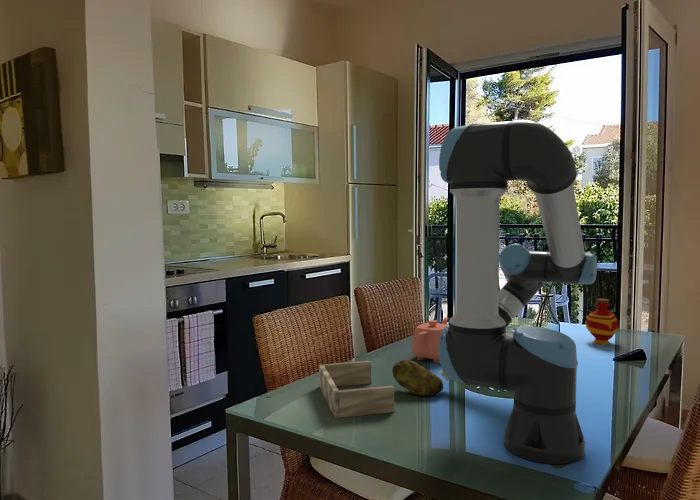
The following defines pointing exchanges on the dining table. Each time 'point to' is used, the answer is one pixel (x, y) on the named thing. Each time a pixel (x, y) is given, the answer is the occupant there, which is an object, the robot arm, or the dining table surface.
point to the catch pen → (353, 390)
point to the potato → (417, 378)
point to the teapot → (428, 340)
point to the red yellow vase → (602, 323)
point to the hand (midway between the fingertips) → (443, 376)
